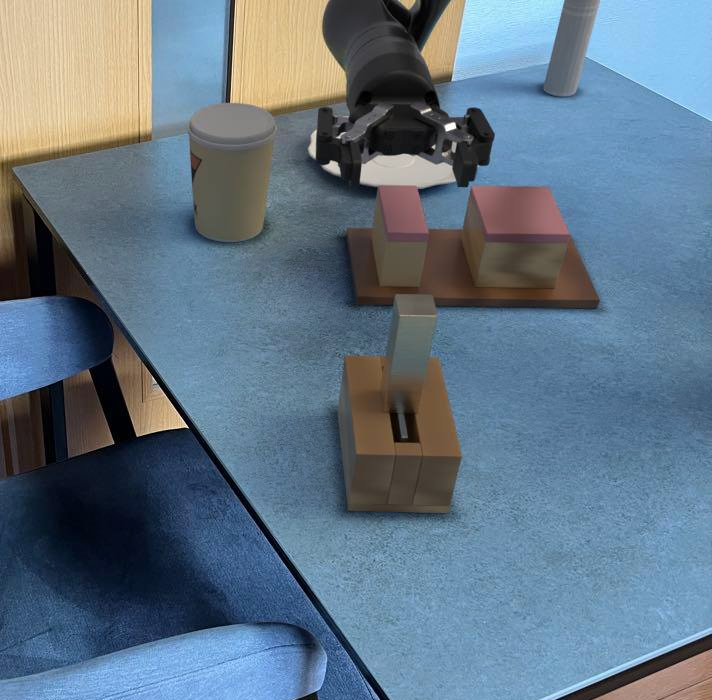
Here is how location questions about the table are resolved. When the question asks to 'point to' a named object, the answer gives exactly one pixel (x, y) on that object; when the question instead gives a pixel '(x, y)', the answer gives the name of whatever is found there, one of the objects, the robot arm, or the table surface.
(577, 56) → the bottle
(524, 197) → the cake
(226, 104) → the coffee cup
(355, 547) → the table surface
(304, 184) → the table surface
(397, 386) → the knife
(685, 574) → the table surface
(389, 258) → the cake slice
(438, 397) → the knife block
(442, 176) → the plate
